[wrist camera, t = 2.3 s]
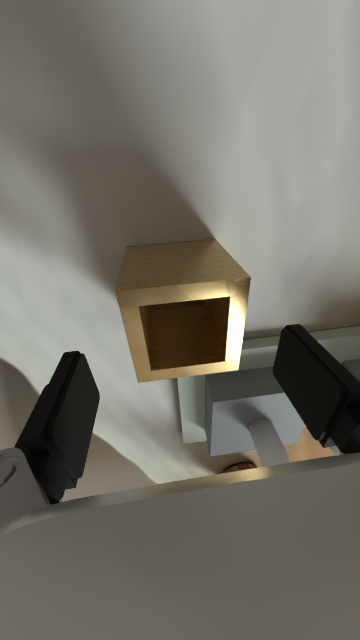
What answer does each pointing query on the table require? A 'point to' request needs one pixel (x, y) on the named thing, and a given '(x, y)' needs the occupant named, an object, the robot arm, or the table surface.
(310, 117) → the table surface
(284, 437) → the coupling rig
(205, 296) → the hollow wooden square tube
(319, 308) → the table surface
